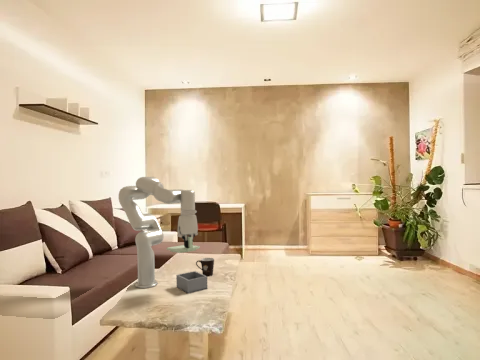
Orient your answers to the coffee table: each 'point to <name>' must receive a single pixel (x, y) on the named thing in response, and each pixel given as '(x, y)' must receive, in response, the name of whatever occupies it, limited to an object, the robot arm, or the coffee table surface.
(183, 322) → the coffee table surface
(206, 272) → the coffee mug
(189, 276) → the tub
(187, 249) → the lid
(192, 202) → the robot arm
